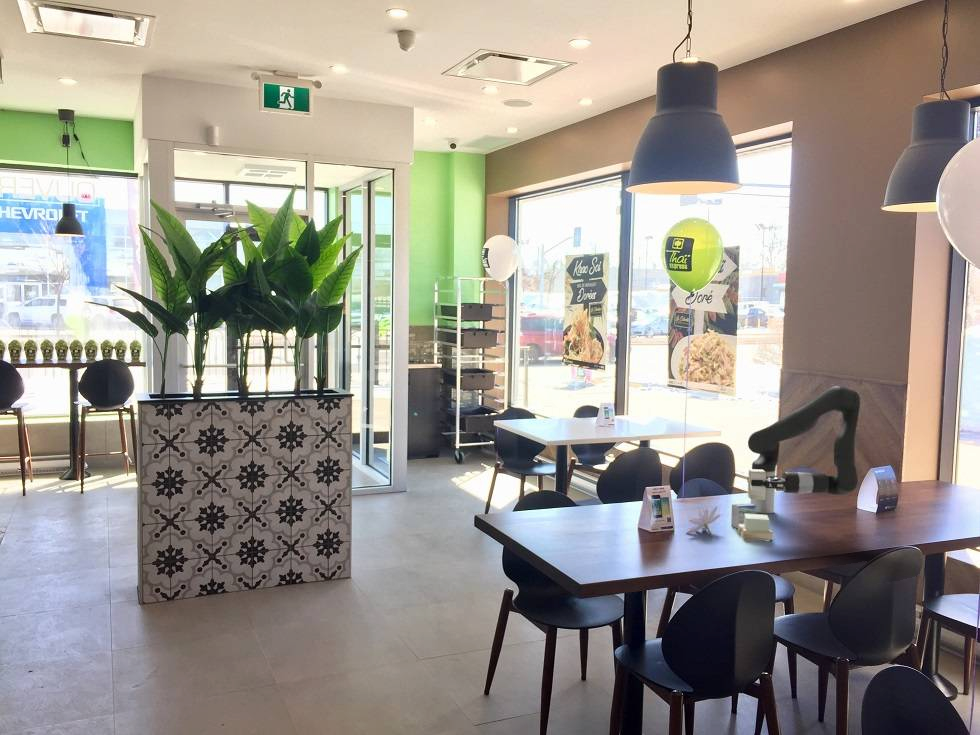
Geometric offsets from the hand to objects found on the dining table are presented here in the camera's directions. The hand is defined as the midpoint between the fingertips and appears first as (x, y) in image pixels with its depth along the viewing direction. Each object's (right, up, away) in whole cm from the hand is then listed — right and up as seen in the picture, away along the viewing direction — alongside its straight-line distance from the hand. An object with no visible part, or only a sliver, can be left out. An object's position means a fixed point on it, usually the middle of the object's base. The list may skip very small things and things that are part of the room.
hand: (749, 481), depth 302 cm
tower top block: (+3, -17, 0) cm, 17 cm away
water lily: (-16, -20, +4) cm, 26 cm away
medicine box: (+2, -20, +15) cm, 25 cm away
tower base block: (+2, -21, 0) cm, 21 cm away
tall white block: (+3, -6, 0) cm, 7 cm away
